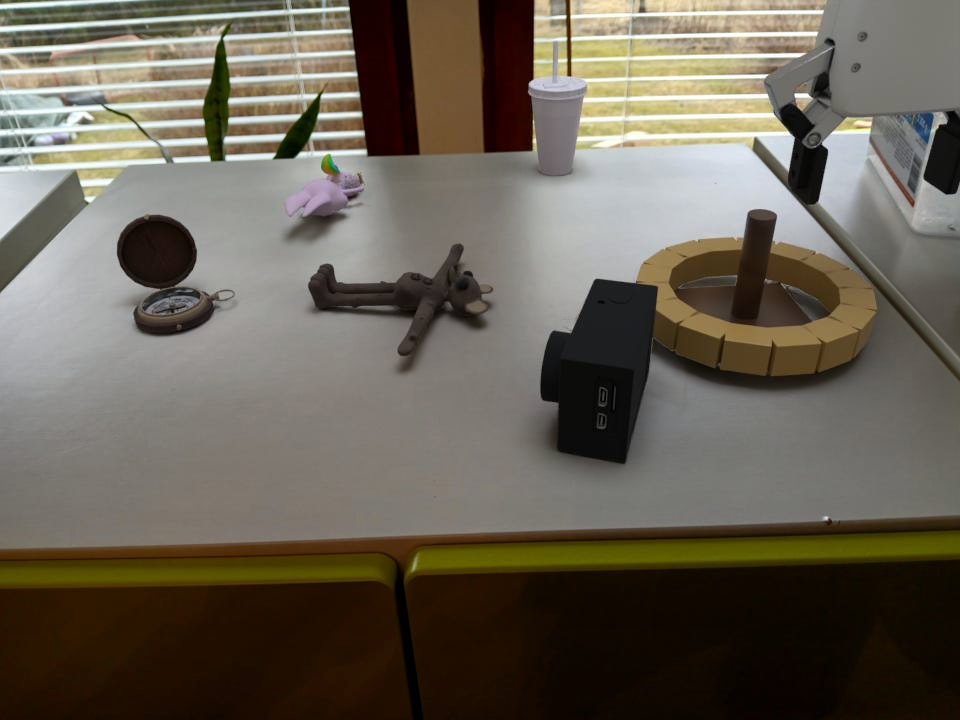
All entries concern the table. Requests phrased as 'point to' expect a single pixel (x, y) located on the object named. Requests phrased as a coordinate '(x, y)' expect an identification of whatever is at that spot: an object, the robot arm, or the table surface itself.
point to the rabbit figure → (325, 191)
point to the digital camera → (601, 369)
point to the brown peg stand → (750, 284)
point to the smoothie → (556, 118)
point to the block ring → (752, 344)
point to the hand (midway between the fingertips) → (871, 192)
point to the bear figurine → (406, 294)
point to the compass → (163, 273)
